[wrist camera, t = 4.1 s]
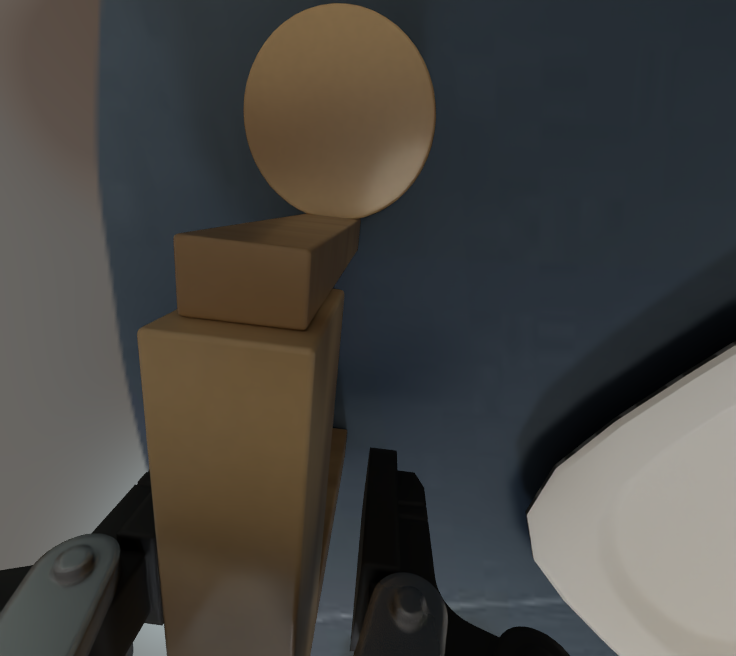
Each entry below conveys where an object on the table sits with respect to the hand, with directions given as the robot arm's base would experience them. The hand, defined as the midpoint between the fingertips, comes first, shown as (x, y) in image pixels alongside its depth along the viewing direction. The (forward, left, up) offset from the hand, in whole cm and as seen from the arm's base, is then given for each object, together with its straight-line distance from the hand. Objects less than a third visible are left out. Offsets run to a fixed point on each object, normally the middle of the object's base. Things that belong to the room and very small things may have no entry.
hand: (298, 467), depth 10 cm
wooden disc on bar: (-4, +1, -5) cm, 7 cm away
